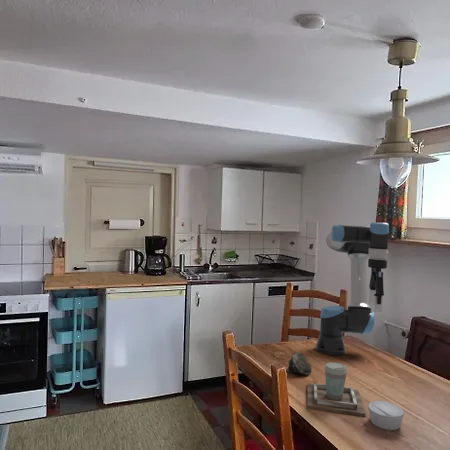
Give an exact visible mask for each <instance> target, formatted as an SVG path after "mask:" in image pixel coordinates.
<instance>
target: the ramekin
mask: <svg viewBox="0 0 450 450" xmlns="http://www.w3.org/2000/svg"><path fill="white" fill-rule="evenodd" d="M367 409H368V411H369V412H368V413H369V419H370V422H371V423H372V424H373V425H374V426H376V427H377V428H379V429H383V430H385V431H396V430H399V428H401V426H402V423H403V417H405V411H404V410H403V408H401V406H399V405H397V404H394V403H392V402H390V401H383V400H382V401H381V400H374V401H372V402H370V403H369V404H368V408H367Z"/></svg>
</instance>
